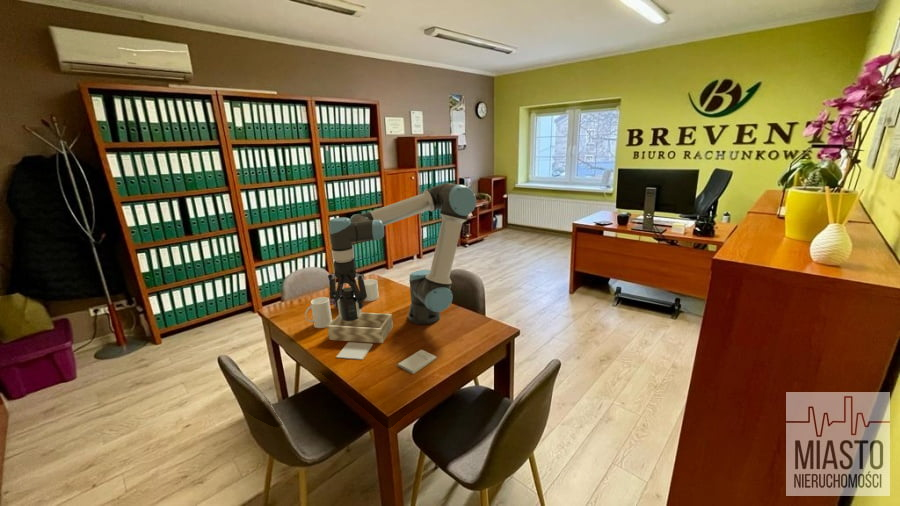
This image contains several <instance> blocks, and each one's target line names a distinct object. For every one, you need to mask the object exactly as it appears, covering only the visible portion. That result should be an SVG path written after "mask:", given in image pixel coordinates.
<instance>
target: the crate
mask: <svg viewBox="0 0 900 506" xmlns="http://www.w3.org/2000/svg"><path fill="white" fill-rule="evenodd" d="M393 321H394V319H393V314H392V313H380V312H379V313H378V312H377V313H376V312H362V315H361V316H360V317H359V318H358V319H356V320H354V321H344V320H343V319H342V316H339V314H338V315H337V316H336V317H335V318H334V319H332V322H331V323H330V324H329V325H328V326H327V327H326V328H327V332H328V333H327V335H328V340H329V341H342V342H343V341H345V342H355V343H370V344H373V343H374V344H383V343H384V342H385V340H386V338H387V337H388V336H389V334H390V332H391V331H392V329H393V328H394V323H393Z"/></svg>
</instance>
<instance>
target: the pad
mask: <svg viewBox="0 0 900 506" xmlns="http://www.w3.org/2000/svg"><path fill="white" fill-rule="evenodd" d="M373 346H374V344H373V343H370V342H355V341H347V343H346V344H345V345H344V347H343V348H342V349H341V350H340V351H339V353H338V354H337V355H336V356H335V357H336V358H338V359H346V360H347V359H349V360H360V361H362V360H364V358H365V357H366V355H367V354H368V353H369V351H370V350H371V348H372V347H373Z"/></svg>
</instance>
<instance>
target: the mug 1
mask: <svg viewBox="0 0 900 506" xmlns="http://www.w3.org/2000/svg"><path fill="white" fill-rule="evenodd" d="M329 298H330V297H326V296H320V297H316V298H313V299H312V300H310V305H309V306H308V308H306V310H305V312H304V317H305V319H306V321H308V322H310V323H313V327H314V328H316V329H324V328H327V326H328V325H329V324H330V323H331V322H332V321H333V318H332V311H331V305H330V304H331V302H330V300H329ZM309 310H311V313H312V319H309V318H308V317H307V313H308V312H309Z"/></svg>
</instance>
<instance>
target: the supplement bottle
mask: <svg viewBox="0 0 900 506" xmlns="http://www.w3.org/2000/svg"><path fill="white" fill-rule="evenodd" d="M343 288H344V287H343ZM343 288H342V290H341V295H342V296H341V297H340V307H341V315H342V319H343V320H344V321H354V320H356V319H358V318H359V317H357V310H356V301H357V299H356V297H355V294H354V292H353V290H352V288H351V286H348V287H346V288H344V289H343Z"/></svg>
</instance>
